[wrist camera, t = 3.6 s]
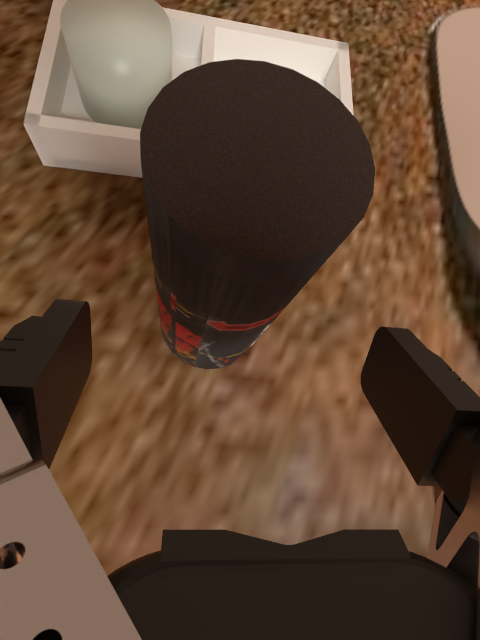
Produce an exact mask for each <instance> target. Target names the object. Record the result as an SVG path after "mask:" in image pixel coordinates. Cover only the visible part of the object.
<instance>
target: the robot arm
mask: <svg viewBox="0 0 480 640" xmlns="http://www.w3.org/2000/svg"><path fill="white" fill-rule="evenodd" d="M91 363H92V339H91V318H90V306H89V303H88V302H87V301H75V300H63V299H56V300H55V301H54V302H53V303H52V305H51V306H50V307H49V308H48V310H47V311H46V312H45V314H44V315H43V316H42V317H38V316H31V317H29V318H28V319H26V320H24V321H22V322H20V323H18V324H16V325H14V326H13V328H12V329H11V330H10V331H9V332H8V333H7V335H6V336H5V337H4V340H1V341H0V640H480V397H479V396H478V395H477V394H476V393H475V392H474V391H473V390H472V389H471V388H470V387H469V386H468V385H467V384H466V383H465V382H464V381H461V378H460V377H459V376H458V375H457V374H456V373H455V372H454V371H452V369H451V368H450V367H449V366H448V365H447V364H446V363H445V362H444V360H443V359H442V358H441V357H439V356H438V355H436V354H434V353H433V352H431V351H430V350H428V349H427V348H426V347H425V346H424V345H423V343H422V342H421V341H420V340H419V339H418V338H417V337H416V336H415V335H414V334H413V333H412V332H411V331H410V330H408V329H403V328H391V327H380V328H379V329H378V330H377V331H376V333H375V335H374V338H373V341H372V344H371V347H370V349H369V352H368V355H367V358H366V361H365V364H364V366H363V369H362V373H361V387H362V390H363V393H364V394H365V396H366V398H367V400H368V401H369V403H370V405H371V406H372V408H373V410H374V412H375V413H376V415H377V417H378V418H379V420H380V422H381V424H382V425H383V427H384V429H385V430H386V432H387V434H388V436H389V437H390V439H391V441H392V442H393V444H394V446H395V448H396V449H397V451H398V453H399V454H400V456H401V458H402V460H403V461H404V463H405V465H406V466H407V468H408V470H409V472H410V473H411V475H412V477H413V478H414V480H415V482H416V484H417V485H419V486H440V487H441V489H442V492H441V493H440V495H439V497H438V499H437V502H436V507H435V513H434V519H433V525H432V531H431V537H430V543H429V549H428V554H427V558H426V557H423V556H421V555H418V554H415V553H413V552H410V551H408V549H407V547H406V545H405V543H404V541H403V539H402V537H401V535H400V533H399V531H398V530H342V531H338V532H335V533H332V534H328V535H325V536H322V537H318V538H315V539H312V540H308V541H305V542H302V543H298V544H295V545H283V544H279V543H275V542H271V541H267V540H263V539H259V538H255V537H251V536H247V535H244V534H240V533H236V532H232V531H228V530H163V535H162V547H161V551H158V552H154V553H151V554H148V555H145V556H143V557H140V558H138V559H136V560H133V561H131V562H129V563H127V564H126V565H124V566H122V567H120V568H118V569H117V570H115V571H114V572H112V573H111V574H109V575H108V576H107V575H106V573H105V572H104V570H103V568H102V566H101V564H100V562H99V561H98V559H97V557H96V555H95V553H94V551H93V550H92V548H91V546H90V544H89V542H88V540H87V539H86V537H85V535H84V533H83V531H82V529H81V528H80V526H79V524H78V522H77V520H76V518H75V517H74V515H73V513H72V511H71V509H70V507H69V506H68V504H67V502H66V500H65V498H64V497H63V495H62V493H61V491H60V489H59V487H58V486H57V484H56V482H55V480H54V478H53V476H52V475H51V473H50V471H49V468H50V466H51V464H52V461H53V459H54V457H55V454H56V452H57V449H58V447H59V445H60V442H61V440H62V438H63V435H64V433H65V431H66V428H67V426H68V423H69V421H70V419H71V416H72V414H73V412H74V409H75V407H76V405H77V402H78V400H79V398H80V395H81V393H82V390H83V388H84V386H85V383H86V381H87V379H88V376H89V373H90V369H91Z"/></svg>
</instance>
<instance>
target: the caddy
mask: <svg viewBox="0 0 480 640" xmlns="http://www.w3.org/2000/svg"><path fill="white" fill-rule="evenodd" d="M232 59H244V60H255V61H266V62H269V63H273V64H276V65H279V66H283V67H286V68H290V69H293V70H295V71H297V72H299V73H301V74H303V75H305V76H307V77H308V78H310V79H312V80H314V81H316V82H318V83H319V84H321V85H322V86H323V87H324V88H326V89H327V90H328V91H330V92H331V93H332V94H333V95H335V96H336V97H337V98H338V99H340V100H341V102H342V103H343V104H344V105H345V106H346V108H347V109H348V110H349V111H350V112H351V113H352V115H353V103H352V89H351V76H350V62H349V48H348V43H344V42H339V41H334V40H329V39H323V38H318V37H313V36H308V35H303V34H298V33H292V32H287V31H282V30H277V29H272V28H266V27H261V26H256V25H251V24H246V23H241V22H235V21H230V20H225V19H220V18H215V17H209V16H204V15H199V14H194V13H189V12H183V11H178V10H173V9H168V8H163V7H161V6H160V5H159V4H158V3H157V2H156V1H155V0H53V3H52V7H51V11H50V16H49V20H48V24H47V28H46V32H45V36H44V40H43V44H42V49H41V53H40V57H39V61H38V65H37V69H36V73H35V77H34V82H33V86H32V90H31V94H30V98H29V102H28V106H27V110H26V115H25V119H24V123H23V124H24V126H25V128H26V131H27V133H28V135H29V137H30V139H31V141H32V143H33V145H34V147H35V149H36V151H37V153H38V155H39V157H40V159H41V161H42V163H43V165H45V166H52V167H60V168H68V169H76V170H84V171H92V172H100V173H108V174H115V175H123V176H131V177H139V178H143V176H142V168H141V158H140V131H141V128H142V125H143V121H144V118H145V115H146V112H147V109H148V107H149V106H150V104H151V103H152V102H153V100H154V99H155V98H156V96H157V95H158V93H159V92H160V91H161V89H162V88H163V87H164V86H165V85H167V84H168V83H170V82H171V81H172V80H174V79H175V78H176V77H178V76H179V75H180V74H182V73H183V72H185V71H188V70H190V69H193V68H196V67H198V66H201V65H203V64H206V63H209V62H216V61H224V60H232Z"/></svg>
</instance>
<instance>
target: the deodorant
mask: <svg viewBox="0 0 480 640" xmlns="http://www.w3.org/2000/svg"><path fill="white" fill-rule="evenodd" d="M140 158H141V168H142V176H143V185H144V193H145V201H146V209H147V217H148V225H149V233H150V241H151V249H152V258H153V266H154V274H155V282H156V290H157V298H158V306H159V314H160V323H161V330H162V333H163V336H164V339H165V342H166V343H167V345H168V346H169V348H170V349H171V351H172V352H173V353H174V354H175V355H176V356H177V357H178V358H180V359H181V360H182V361H184V362H186V363H188V364H190V365H192V366H194V367H199V368H204V369H214V368H221V367H224V366H227V365H230V364H232V363H234V362H235V361H237V360H238V359H240V358H241V357H242V356H243V355H244V354H245V353H246V352H247V351H248V349H249V348H250V347H251V346H252V345H253V344H254V343H255V341H256V340H257V339H258V338H259V337H260V336H261V335H262V333H263V332H264V331H265V330H266V329H267V328H268V327H269V325H270V324H271V323H272V322H273V321H274V320H275V319H276V317H277V316H278V315H279V314H280V313H281V312H282V311H283V309H284V308H285V307H286V306H287V305H288V304H289V303H290V301H291V300H292V299H293V298H294V297H295V296H296V295H297V293H298V292H299V291H300V290H301V289H302V288H303V287H304V285H305V284H306V283H307V282H308V281H309V280H310V279H311V277H312V276H313V275H314V274H315V273H316V272H317V271H318V269H319V268H320V267H321V266H322V265H323V264H324V263H325V261H326V260H327V259H328V258H329V257H330V256H331V255H332V253H333V252H334V251H335V250H336V249H337V248H338V247H339V245H340V244H341V243H342V242H343V241H344V240H345V239H346V237H347V236H348V235H349V234H350V233H351V232H352V230H353V229H354V228H355V227H356V226H357V225H358V223H359V222H360V221H361V220H362V219H363V217H364V215H365V213H366V210H367V208H368V205H369V203H370V201H371V198H372V196H373V190H374V176H375V167H374V162H373V158H372V153H371V149H370V144H369V142H368V140H367V138H366V136H365V134H364V132H363V130H362V128H361V126H360V124H359V123H358V121H357V119H356V118H355V117H354V116H353V115H352V113H351V112H350V111H349V110H348V109H347V108H346V106H345V105H344V104H343V103H342V102H341V100H340V99H338V98H337V97H336V96H335V95H333V94H332V93H331V92H330V91H328V90H327V89H326V88H324V87H323V86H322V85H321V84H319V83H318V82H316V81H314V80H312V79H310V78H308V77H307V76H305V75H303V74H301V73H299V72H297V71H295V70H293V69H290V68H286V67H283V66H279V65H276V64H273V63H269V62H266V61H255V60H244V59H232V60H224V61H216V62H209V63H206V64H203V65H201V66H198V67H196V68H193V69H190V70H188V71H185V72H183V73H182V74H180V75H179V76H178V77H176V78H175V79H174V80H172V81H171V82H170V83H168V84H167V85H165V86H164V87H163V88H162V89H161V91H160V92H159V93H158V95H157V96H156V98H155V99H154V100H153V102H152V103H151V104H150V106H149V107H148V109H147V112H146V115H145V118H144V121H143V125H142V128H141V131H140Z"/></svg>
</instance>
